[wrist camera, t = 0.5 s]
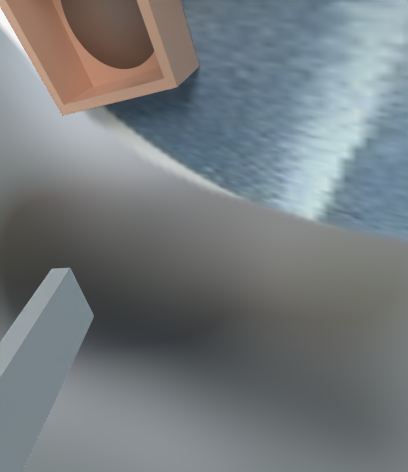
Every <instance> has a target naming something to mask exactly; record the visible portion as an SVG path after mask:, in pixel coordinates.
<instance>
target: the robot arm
mask: <svg viewBox="0 0 408 472" xmlns="http://www.w3.org/2000/svg"><path fill="white" fill-rule="evenodd" d="M93 317H94V315H93V313H92V311H91V309H90V308H89V305H88V303H87V301H86V299H85V297H84V295H83V293H82V291H81V289H80V287H79V285H78V283H77V281H76V279H75V277H74V275H73V273H72V271H71V269H70V268H61V269H60V268H59V269H52V270H51V271H50V272H49V274H48V275H47V276H46V278H45V279H44V281H43V282H42V283H41V285H40V286H39V288H38V289H37V291H36V292H35V293H34V295H33V296H32V298H31V299H30V301H29V302H28V303H27V305H26V306H25V308H24V309H23V310H22V312H21V313H20V315H19V316H18V318H17V319H16V320H15V322H14V323H13V325H12V326H11V328H10V329H9V330H8V332H7V333H6V335H5V336H4V338H3V339H2V340H1V342H0V472H23V470H24V468H25V465H26V463H27V461H28V459H29V457H30V454H31V452H32V450H33V448H34V446H35V444H36V441H37V439H38V437H39V435H40V433H41V430H42V428H43V426H44V424H45V422H46V419H47V417H48V415H49V413H50V411H51V409H52V407H53V404H54V402H55V400H56V398H57V396H58V393H59V391H60V389H61V387H62V385H63V383H64V380H65V378H66V376H67V374H68V372H69V369H70V367H71V365H72V363H73V360H74V359H75V356H76V354H77V352H78V349H79V348H80V345H81V343H82V341H83V339H84V337H85V334H86V332H87V330H88V328H89V325H90V324H91V321H92V319H93Z"/></svg>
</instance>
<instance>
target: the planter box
mask: <svg viewBox="0 0 408 472" xmlns="http://www.w3.org/2000/svg"><path fill="white" fill-rule="evenodd" d="M0 7H1V9H2V11H3V12H4V14H5V16H6V18H7V19H8V21H9V23H10V25H11V26H12V28H13V30H14V32H15V33H16V35H17V37H18V39H19V40H20V42H21V44H22V46H23V47H24V49H25V51H26V53H27V54H28V56H29V58H30V60H31V61H32V63H33V65H34V67H35V68H36V70H37V72H38V74H39V75H40V77H41V79H42V81H43V82H44V84H45V86H46V88H47V89H48V91H49V93H50V95H51V96H52V98H53V100H54V102H55V103H56V105H57V107H58V108H59V110H60V112H61V113H62V115H67V114H71V113H75V112H79V111H83V110H87V109H91V108H95V107H99V106H103V105H107V104H112V103H116V102H120V101H124V100H128V99H132V98H136V97H140V96H144V95H148V94H152V93H156V92H160V91H164V90H168V89H172V88H176V87H178V86H179V85H180V84H181V83H182V82H183V81H184V80H186V79H187V78H188V77H189V76H190V75H191V74H192V73H193V72H194V71H195V70H196V69H197V68H198V67H199V63H198V59H197V56H196V52H195V49H194V45H193V42H192V38H191V35H190V31H189V28H188V24H187V21H186V17H185V14H184V10H183V7H182V3H181V0H0Z"/></svg>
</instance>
